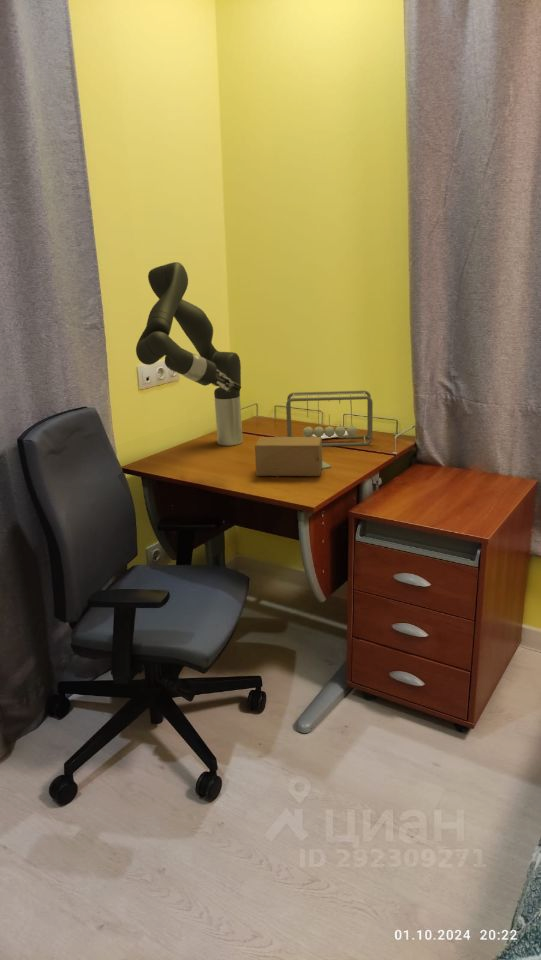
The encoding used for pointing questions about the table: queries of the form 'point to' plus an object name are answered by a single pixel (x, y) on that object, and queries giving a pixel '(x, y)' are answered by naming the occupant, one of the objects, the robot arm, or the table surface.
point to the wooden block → (288, 456)
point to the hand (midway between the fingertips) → (238, 388)
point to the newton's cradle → (329, 430)
